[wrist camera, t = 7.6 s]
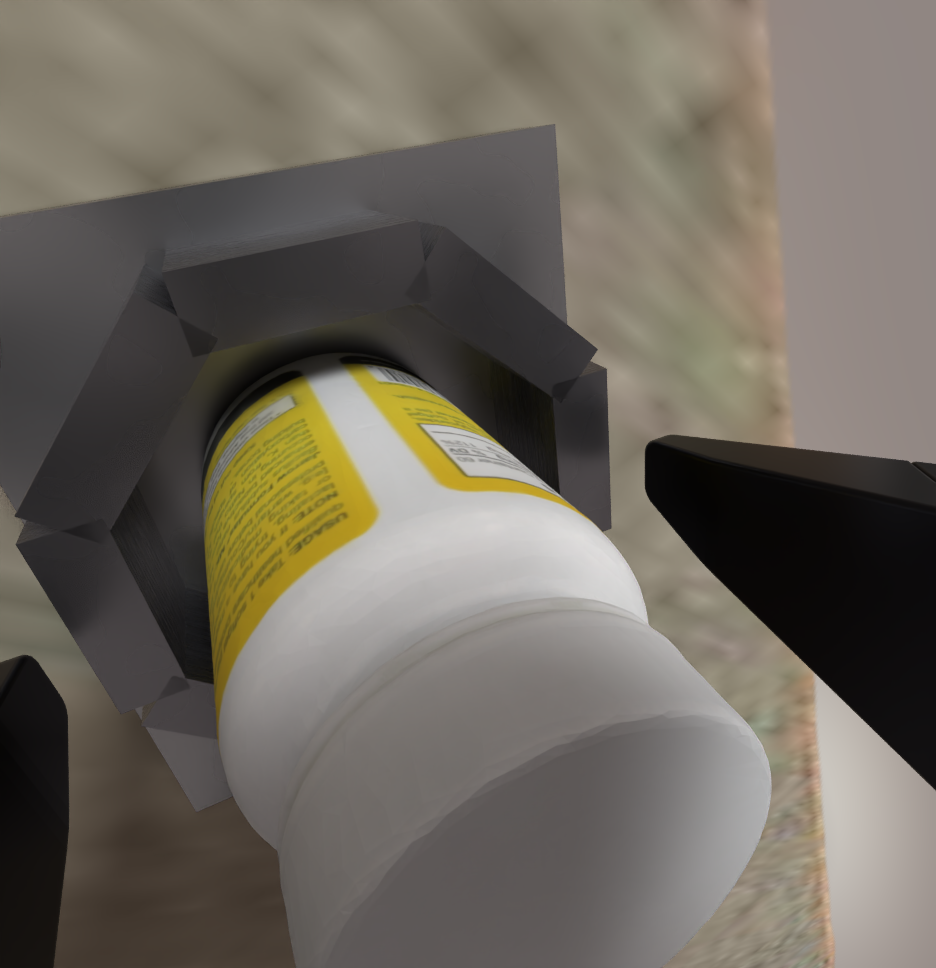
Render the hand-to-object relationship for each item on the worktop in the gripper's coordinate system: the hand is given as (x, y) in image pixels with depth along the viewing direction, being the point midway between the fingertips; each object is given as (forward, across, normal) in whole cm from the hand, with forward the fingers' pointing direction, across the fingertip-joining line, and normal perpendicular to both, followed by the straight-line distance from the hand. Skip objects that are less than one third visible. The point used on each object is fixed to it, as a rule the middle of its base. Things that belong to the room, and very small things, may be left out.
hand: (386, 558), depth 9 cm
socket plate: (+4, 0, +1) cm, 5 cm away
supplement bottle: (+3, 0, 0) cm, 3 cm away
